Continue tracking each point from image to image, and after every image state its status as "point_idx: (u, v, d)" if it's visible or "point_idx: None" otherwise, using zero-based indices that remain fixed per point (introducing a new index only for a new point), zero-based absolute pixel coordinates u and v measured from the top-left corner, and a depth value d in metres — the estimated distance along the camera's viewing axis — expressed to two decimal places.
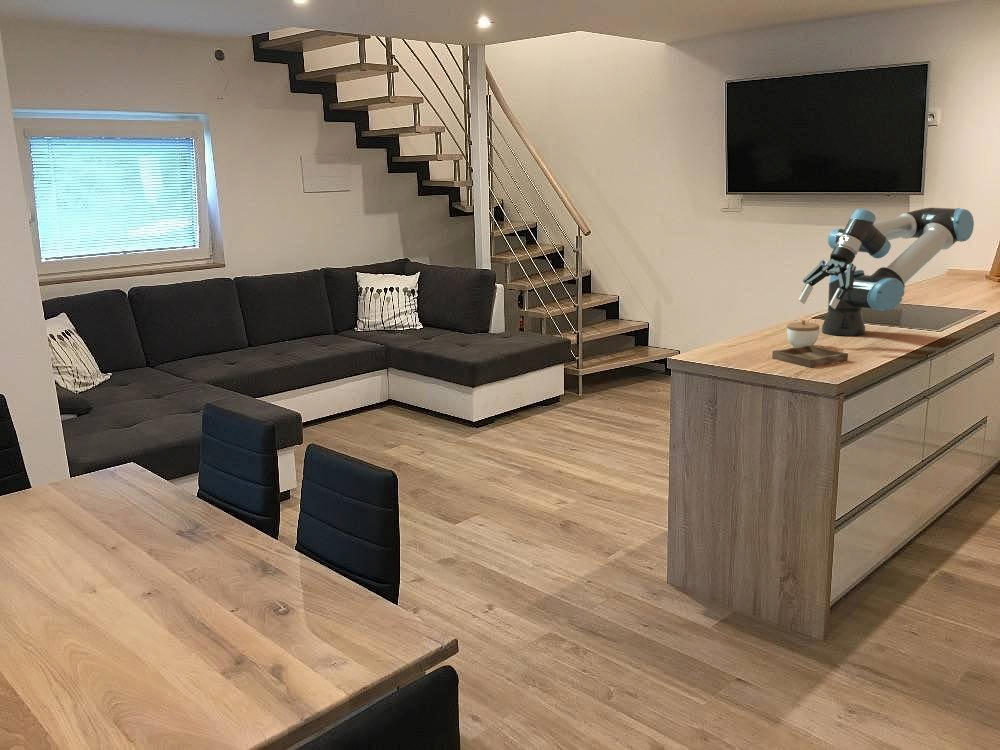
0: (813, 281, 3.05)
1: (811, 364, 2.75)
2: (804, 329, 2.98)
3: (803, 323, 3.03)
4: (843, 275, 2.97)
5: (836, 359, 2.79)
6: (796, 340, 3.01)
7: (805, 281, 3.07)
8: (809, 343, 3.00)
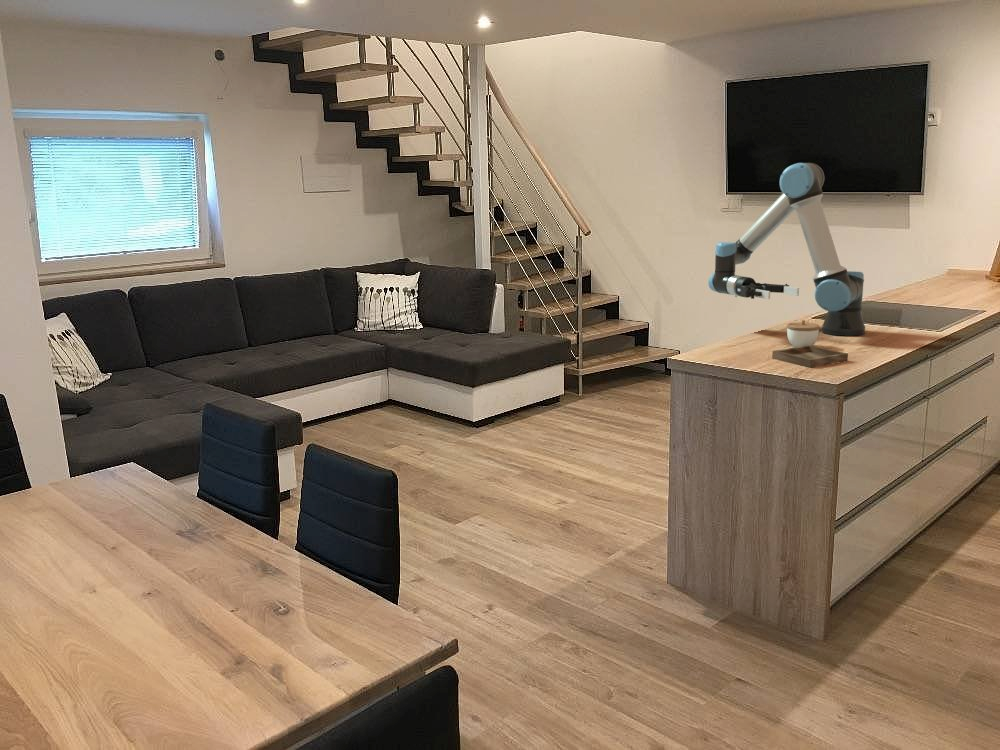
0: (779, 290, 3.19)
1: (811, 364, 2.75)
2: (804, 329, 2.98)
3: (803, 323, 3.03)
4: (750, 289, 3.18)
5: (836, 359, 2.79)
6: (796, 340, 3.01)
7: None
8: (809, 343, 3.00)
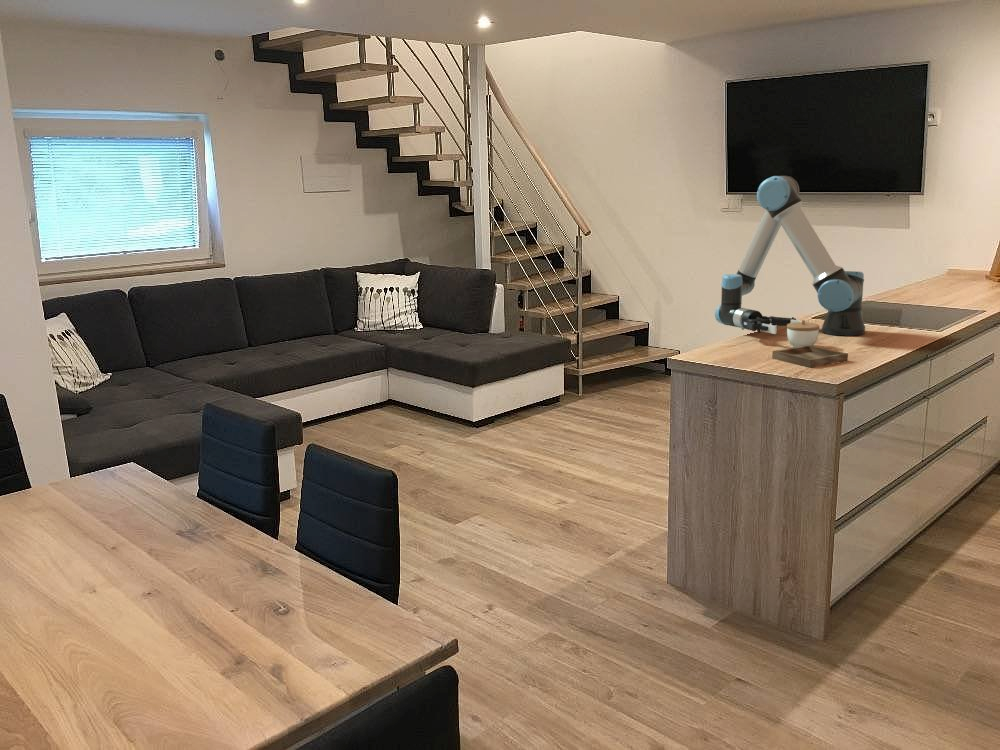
0: (786, 323, 3.18)
1: (811, 364, 2.75)
2: (804, 329, 2.98)
3: (803, 323, 3.03)
4: None
5: (836, 359, 2.79)
6: (796, 340, 3.01)
7: None
8: (809, 343, 3.00)
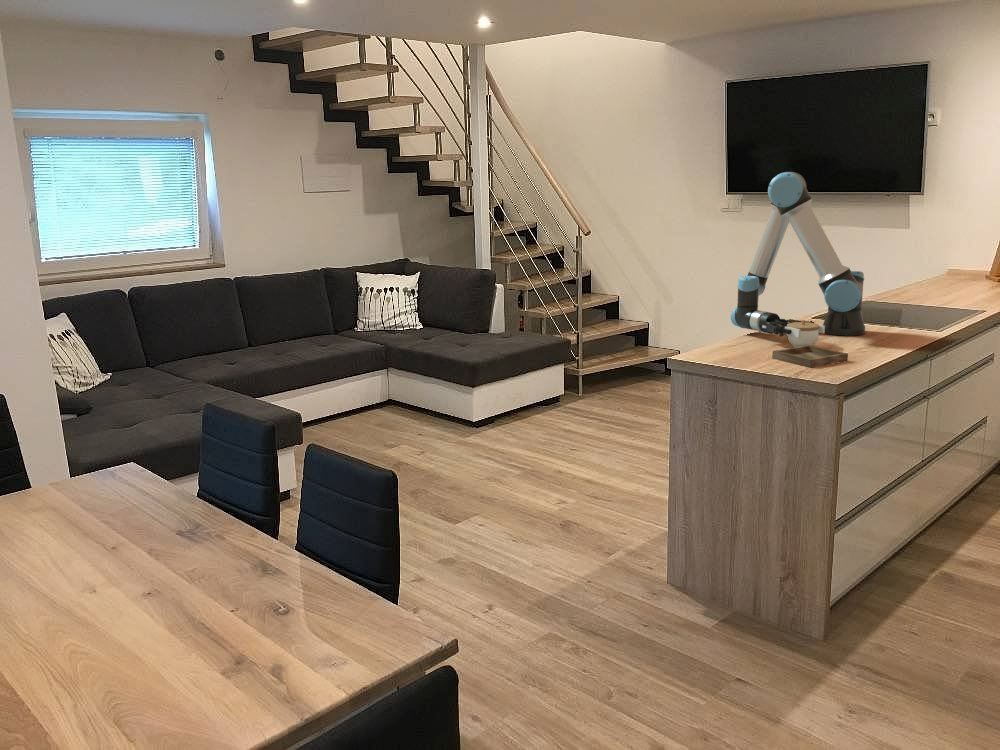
0: None
1: (811, 364, 2.75)
2: (804, 329, 2.98)
3: (803, 323, 3.03)
4: (776, 326, 3.09)
5: (836, 359, 2.79)
6: (796, 340, 3.01)
7: None
8: (809, 343, 3.00)
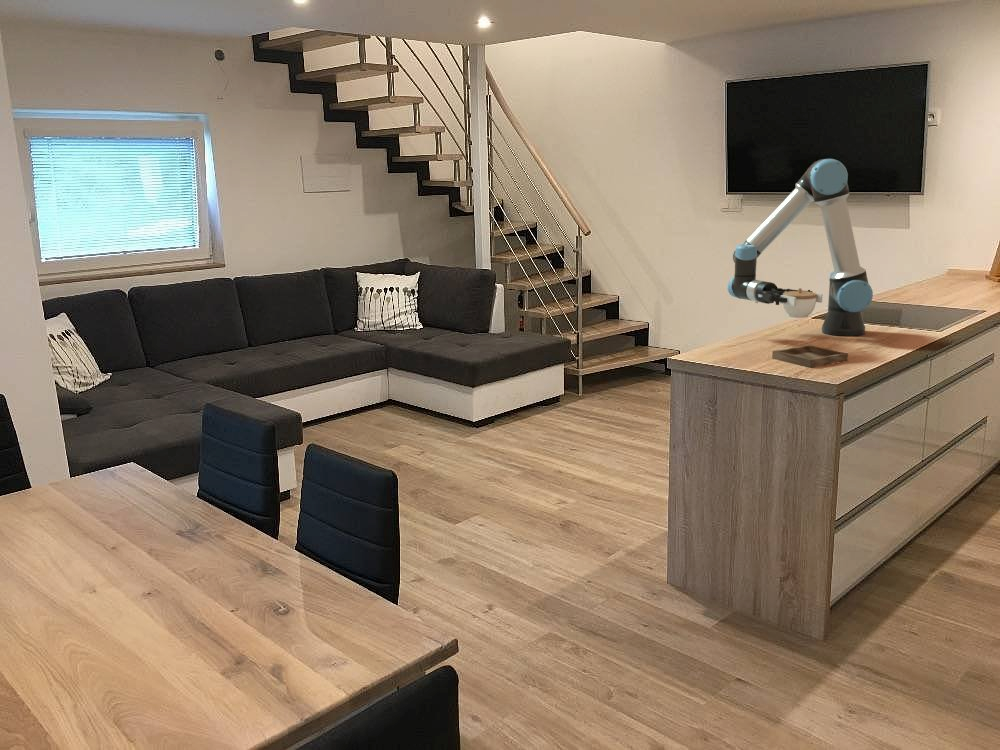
0: None
1: (811, 364, 2.75)
2: (800, 297, 2.88)
3: (800, 291, 2.92)
4: (772, 295, 2.99)
5: (836, 359, 2.79)
6: (791, 309, 2.91)
7: None
8: (805, 312, 2.90)
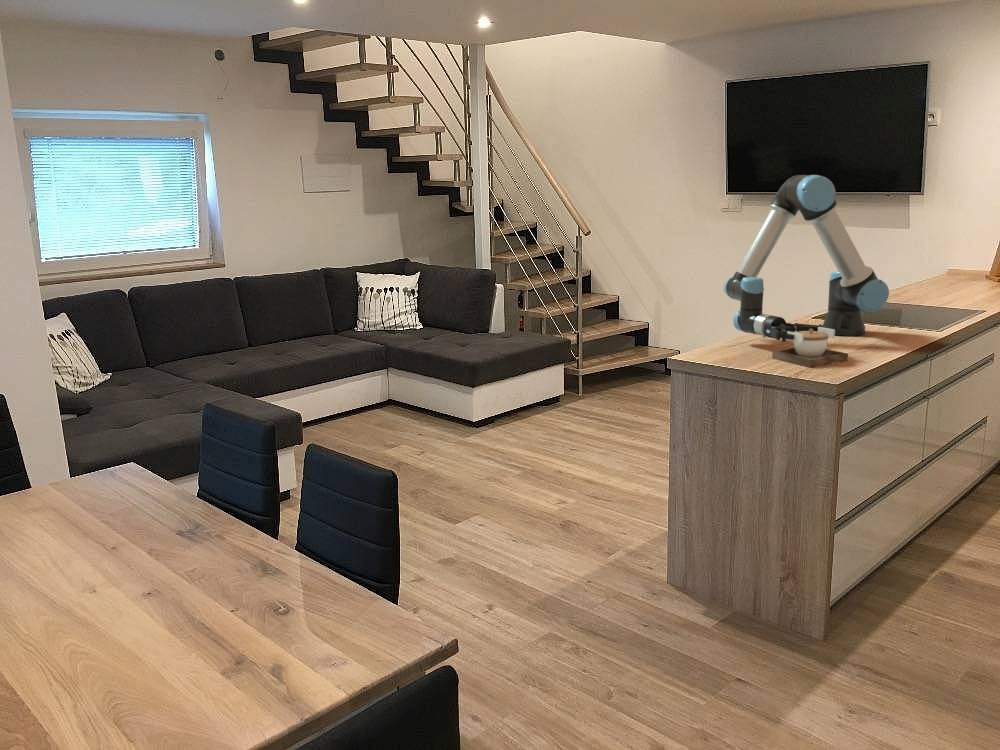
0: None
1: (811, 364, 2.75)
2: (812, 338, 2.79)
3: (811, 332, 2.83)
4: None
5: (836, 359, 2.79)
6: (803, 350, 2.81)
7: None
8: (817, 353, 2.81)
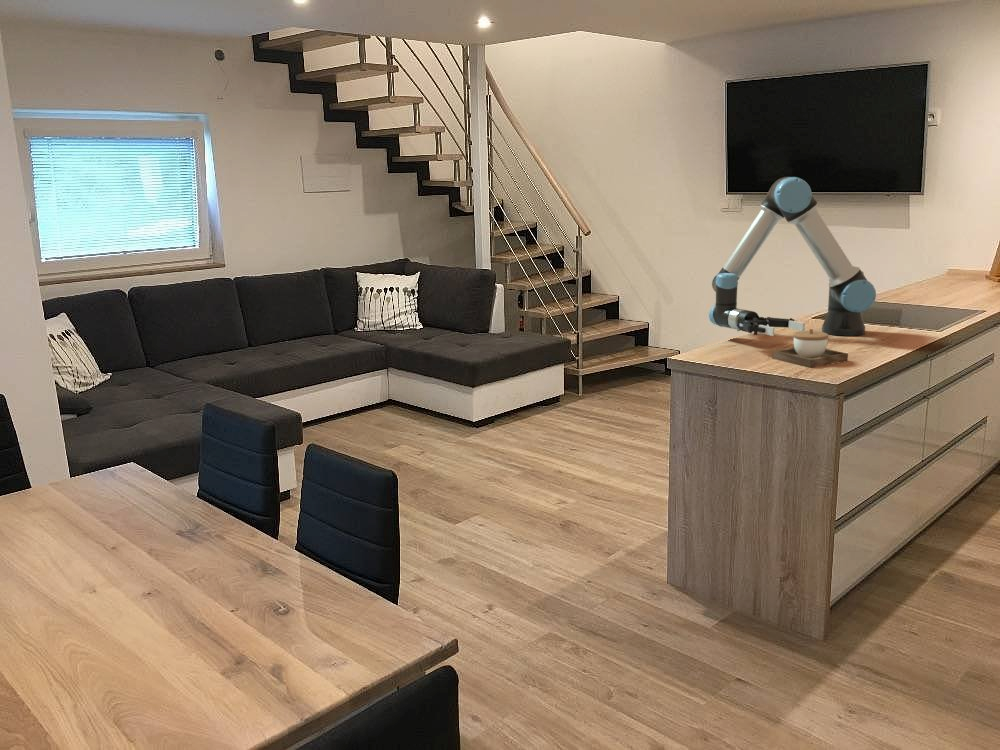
0: (784, 324, 3.02)
1: (811, 364, 2.75)
2: (812, 338, 2.79)
3: (811, 332, 2.83)
4: None
5: (836, 359, 2.79)
6: (803, 350, 2.81)
7: None
8: (817, 353, 2.81)
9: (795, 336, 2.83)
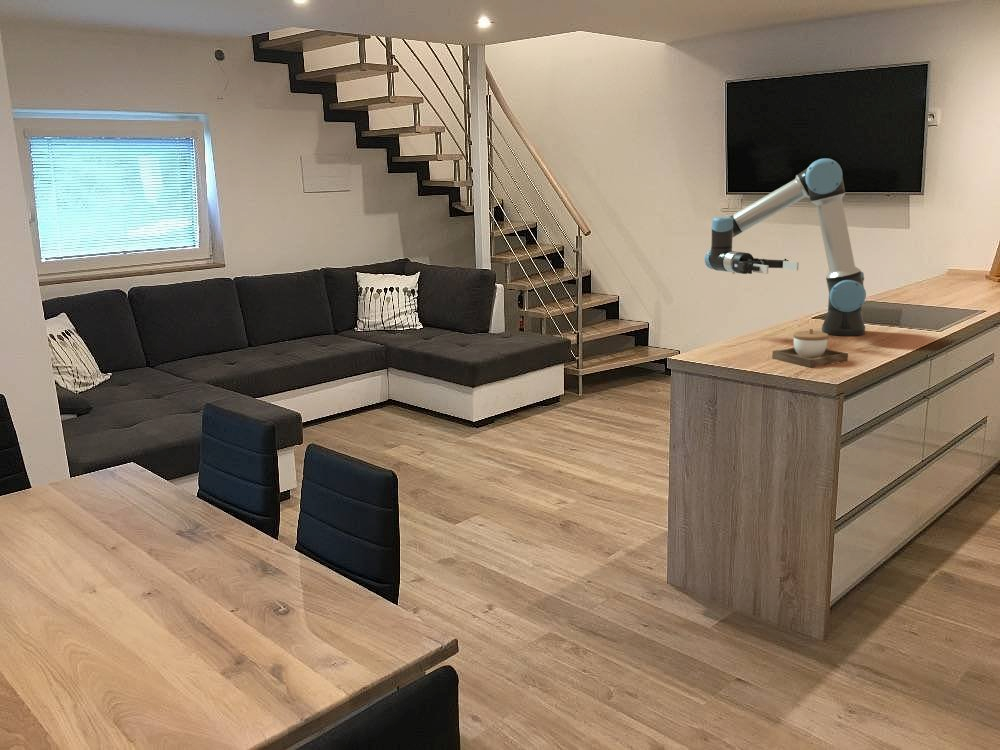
0: (778, 265, 3.06)
1: (811, 364, 2.75)
2: (812, 338, 2.79)
3: (811, 332, 2.83)
4: None
5: (836, 359, 2.79)
6: (803, 350, 2.81)
7: None
8: (817, 353, 2.81)
9: (795, 336, 2.83)
